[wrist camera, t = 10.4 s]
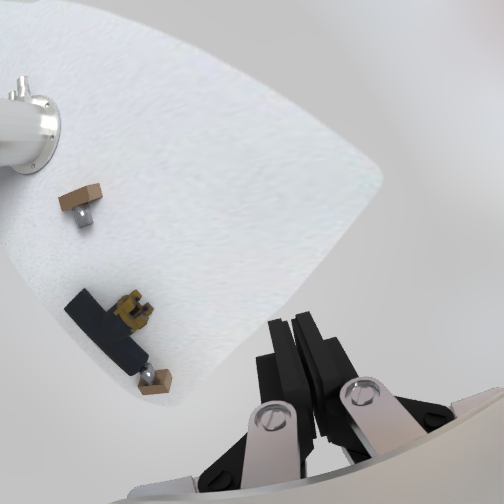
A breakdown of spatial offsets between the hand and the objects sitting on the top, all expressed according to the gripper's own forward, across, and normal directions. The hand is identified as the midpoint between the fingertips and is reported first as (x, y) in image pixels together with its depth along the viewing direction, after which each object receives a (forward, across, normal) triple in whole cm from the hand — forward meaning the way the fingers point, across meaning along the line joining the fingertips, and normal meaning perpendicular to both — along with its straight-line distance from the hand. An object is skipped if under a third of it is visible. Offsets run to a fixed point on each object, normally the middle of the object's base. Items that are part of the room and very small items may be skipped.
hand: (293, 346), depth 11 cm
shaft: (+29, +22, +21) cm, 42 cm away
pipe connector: (+30, +23, +11) cm, 39 cm away
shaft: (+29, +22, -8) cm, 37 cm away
